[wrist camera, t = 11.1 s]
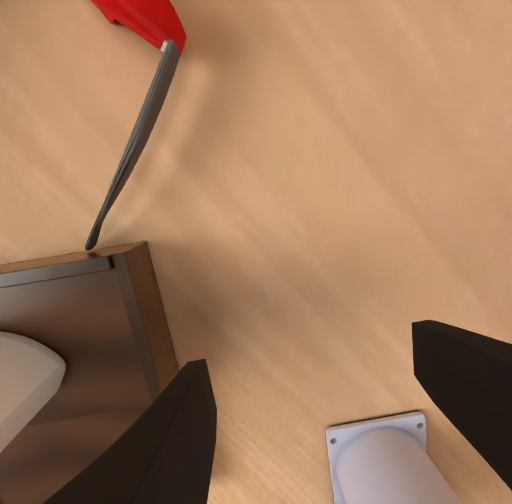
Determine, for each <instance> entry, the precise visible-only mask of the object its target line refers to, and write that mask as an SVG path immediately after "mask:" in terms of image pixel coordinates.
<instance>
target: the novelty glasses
mask: <svg viewBox="0 0 512 504" xmlns="http://www.w3.org/2000/svg"><path fill="white" fill-rule="evenodd" d="M91 1H92V2H93V3H94V4H95V5H96V6H97V7H98V8H99V9H100V10H101V11H102V13H103V14H104V15H105V17H106V18H107V19H108V21H109V22H110V23H111V24H112V22H113V21H114V19H115V20H117V21H118V22H120V23H121V24H123V25H125V26H126V27H128V28H129V29H131V30H133V31H134V32H135V33H137V34H138V35H140V36H141V37H143V38H144V39H145V40H147V41H148V42H149V43H151V44H152V45H153V46H155V47H156V48H158V49H160V50H161V51H162V53H163V56H162V58H161V61H160V63H159V66H158V68H157V71H156V73H155V76H154V78H153V81H152V83H151V86H150V88H149V91H148V93H147V96H146V98H145V101H144V103H143V106H142V108H141V111H140V113H139V116H138V118H137V121H136V123H135V126H134V128H133V131H132V133H131V136H130V138H129V141H128V143H127V146H126V148H125V151H124V153H123V156H122V158H121V161H120V163H119V166H118V168H117V171H116V173H115V176H114V178H113V181H112V183H111V186H110V188H109V191H108V193H107V196H106V198H105V201H104V203H103V206H102V208H101V210H100V213H99V215H98V217H97V219H96V222H95V224H94V226H93V228H92V231H91V233H90V236H89V238H88V240H87V243H86V246H85V248H86V250H91V249H92V248H93V247H94V246H95V245H96V243H97V240H98V237H99V233H100V230H101V226H102V223H103V221H104V219H105V216H106V215H107V213H108V211H109V210H110V208H111V206H112V205H113V203H114V201H115V200H116V198H117V196H118V195H119V193H120V191H121V190H122V188H123V186H124V185H125V183H126V181H127V179H128V178H129V176H130V174H131V172H132V170H133V168H134V166H135V164H136V162H137V160H138V158H139V156H140V155H141V153H142V151H143V149H144V147H145V145H146V143H147V140H148V138H149V136H150V133H151V131H152V129H153V126H154V124H155V122H156V119H157V117H158V115H159V112H160V110H161V108H162V105H163V103H164V100H165V97H166V95H167V92H168V89H169V87H170V84H171V81H172V78H173V76H174V73H175V70H176V67H177V63H178V60H179V57H180V56H181V53H182V50H183V47H184V43H185V40H186V34H185V31H184V29H183V26H182V24H181V22H180V19H179V18H178V16H177V14H176V12H175V10H174V8H173V6H172V4H171V3H170V1H169V0H91ZM152 90H153V91H152Z"/></svg>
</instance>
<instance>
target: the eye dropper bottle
mask: <svg viewBox="0 0 512 504" xmlns="http://www.w3.org/2000/svg"><path fill="white" fill-rule="evenodd" d="M65 370H66V363H65V362H64V360H63V359H62V358H61V357H60V356H59V355H58V354H57V353H55V352H54V351H52V350H51V349H50V348H48V347H46V346H45V345H43V344H41V343H39V342H37V341H35V340H33V339H30V338H27V337H25V336H22V335H18V334H14V333H9V332H1V331H0V452H1V451H2V450H3V449H4V448H5V447H6V446H7V445H8V444H9V443H10V442H11V441H12V440H13V439H14V437H15V436H16V435H17V434H18V433H19V432H20V431H21V430H22V429H23V428H24V427H25V426H26V424H27V423H28V422H29V421H30V420H31V419H32V418H33V417H34V416H35V415H36V414H37V413H38V412H39V410H40V409H41V408H42V407H43V406H44V405H45V404H46V403H47V402H48V401H49V400H50V399H51V397H52V396H53V395H54V394H55V393H56V392H57V391H58V389H59V387H60V384H61V382H62V379H63V376H64V373H65Z"/></svg>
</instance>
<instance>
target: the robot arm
mask: <svg viewBox="0 0 512 504" xmlns="http://www.w3.org/2000/svg"><path fill="white" fill-rule="evenodd" d="M412 339H413V361H414V375H415V377H416V378H417V380H418V381H419V383H420V384H421V386H422V387H423V389H424V390H425V391H426V393H427V394H428V395H429V397H430V398H431V400H432V401H433V402H434V403H435V405H436V406H437V407H438V408H439V409H440V410H441V411H442V413H443V414H444V415H445V416H446V417H447V418H448V419H449V420H450V422H451V423H452V424H453V425H454V426H455V427H456V428H457V429H458V430H459V432H460V433H461V434H462V435H463V436H464V437H465V438H466V439H467V440H468V442H469V443H470V444H471V445H472V446H473V447H474V448H475V449H476V450H477V452H478V453H479V454H480V455H481V456H482V457H483V458H484V459H485V460H486V461H487V463H488V464H489V465H490V466H491V467H492V468H493V469H494V470H495V471H496V473H497V474H498V475H499V476H500V477H501V479H502V480H503V481H504V482H505V483H506V484H507V486H508V487H509V488H510V489H511V490H512V344H510V343H506V342H503V341H500V340H497V339H493V338H490V337H487V336H484V335H481V334H477V333H474V332H471V331H468V330H465V329H461V328H458V327H455V326H452V325H448V324H445V323H441V322H437V321H433V320H425V321H419V322H413V323H412ZM418 423H419V424H418ZM216 427H217V407H216V403H215V398H214V394H213V390H212V385H211V381H210V376H209V372H208V367H207V363H206V359H201V360H195V361H189V362H187V363H186V364H185V366H184V367H183V368H182V369H181V370H180V371H179V373H178V374H177V375H176V376H175V377H174V379H173V380H172V381H171V382H170V383H169V385H168V386H167V387H166V388H165V389H164V390H163V392H162V393H161V394H160V395H159V396H158V397H157V398H156V400H155V401H154V402H153V403H152V404H151V405H150V406H149V407H148V408H147V409H146V411H145V412H144V413H143V414H142V415H141V416H140V417H139V418H138V419H137V420H136V421H135V422H134V423H133V424H132V425H131V426H130V427H129V429H128V430H127V431H126V432H125V433H124V434H123V435H122V436H120V437H119V438H118V439H117V440H116V441H115V442H114V443H113V444H112V445H111V446H110V447H109V448H108V449H107V450H106V451H104V452H103V453H102V454H101V455H100V456H99V457H98V458H97V459H96V460H95V461H93V462H92V463H91V464H90V465H89V466H88V467H86V468H85V469H84V470H83V471H82V472H80V473H79V474H78V475H77V476H75V477H74V478H73V479H72V480H70V481H69V482H68V483H67V484H66V485H64V486H63V487H62V488H61V489H59V490H58V491H57V492H56V493H54V494H53V495H52V496H51V497H50V498H48V499H47V500H46V501H44V502H43V503H42V504H207V499H208V492H209V485H210V478H211V472H212V465H213V458H214V451H215V444H216ZM325 434H326V442H327V449H328V457H329V465H330V473H331V481H332V489H333V496H334V504H462V503H461V502H460V500H459V499H458V498H457V496H456V495H455V493H454V492H453V490H452V489H451V488H450V486H449V485H448V483H447V482H446V481H445V479H444V478H443V476H442V475H441V473H440V472H439V471H438V469H437V468H436V466H435V465H434V464H433V462H432V461H431V459H430V458H429V457H428V455H427V442H426V418H425V416H424V415H423V414H422V413H421V412H412V413H407V414H401V415H396V416H390V417H384V418H379V419H373V420H367V421H362V422H356V423H351V424H345V425H339V426H334V427H330V428H328V429H327V430H326V433H325ZM333 438H334V439H333ZM331 439H333V440H331Z"/></svg>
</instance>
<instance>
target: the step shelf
mask: <svg viewBox="0 0 512 504" xmlns="http://www.w3.org/2000/svg"><path fill="white" fill-rule="evenodd" d="M0 331H1V332H9V333H14V334H18V335H22V336H25V337H27V338H30V339H33V340H35V341H37V342H39V343H41V344H43V345H45V346H46V347H48V348H50V349H51V350H52V351H54V352H55V353H57V354H58V355H59V356H60V357H61V358H62V359H63V360H64V362H65V363H66V370H65V373H64V376H63V379H62V382H61V384H60V387H59V389H58V391H57V392H56V393H55V394H54V395H53V396H52V397H51V399H50V400H49V401H48V402H47V403H46V404H45V405H44V406H43V407H42V408H41V409H40V410H39V412H38V413H37V414H36V415H35V416H34V417H33V418H32V419H31V420H30V421H29V422H28V423H27V424H26V426H25V427H24V428H23V429H22V430H21V431H20V432H19V433H18V434H17V435H16V436H15V437H14V439H13V440H12V441H11V442H10V443H9V444H8V445H7V446H6V447H5V448H4V449H3V450H2V451H1V452H0V504H42V503H43V502H44V501H46V500H47V499H48V498H50V497H51V496H52V495H53V494H54V493H56V492H57V491H58V490H59V489H61V488H62V487H63V486H64V485H66V484H67V483H68V482H69V481H70V480H72V479H73V478H74V477H75V476H77V475H78V474H79V473H80V472H82V471H83V470H84V469H85V468H86V467H88V466H89V465H90V464H91V463H92V462H93V461H95V460H96V459H97V458H98V457H99V456H100V455H101V454H102V453H103V452H104V451H106V450H107V449H108V448H109V447H110V446H111V445H112V444H113V443H114V442H115V441H116V440H117V439H118V438H119V437H120V436H122V435H123V434H124V433H125V432H126V431H127V430H128V429H129V427H130V426H131V425H132V424H133V423H134V422H135V421H136V420H137V419H138V418H139V417H140V416H141V415H142V414H143V413H144V412H145V411H146V409H147V408H148V407H149V406H150V405H151V404H152V403H153V402H154V401H155V400H156V398H157V397H158V396H159V395H160V394H161V393H162V392H163V390H164V389H165V388H166V387H167V386H168V385H169V383H170V382H171V381H172V380H173V379H174V377H175V376H176V375H177V374H178V373H179V370H178V366H177V362H176V358H175V354H174V350H173V346H172V342H171V338H170V334H169V330H168V326H167V322H166V318H165V313H164V309H163V305H162V301H161V297H160V293H159V289H158V285H157V281H156V277H155V273H154V269H153V265H152V261H151V257H150V253H149V249H148V245H147V242H146V241H142V242H136V243H130V244H124V245H118V246H112V247H106V248H100V249H94V250H88V251H82V252H76V253H70V254H64V255H58V256H52V257H46V258H40V259H34V260H28V261H22V262H16V263H10V264H4V265H0Z"/></svg>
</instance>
